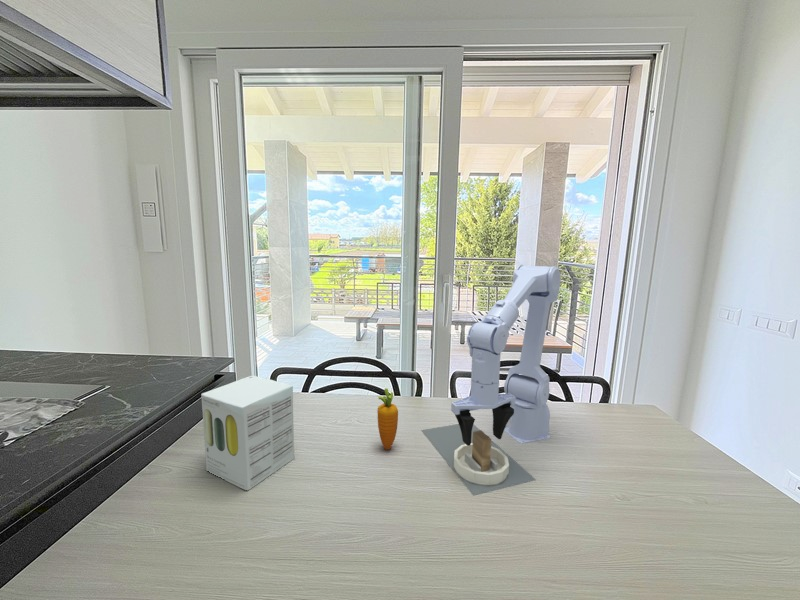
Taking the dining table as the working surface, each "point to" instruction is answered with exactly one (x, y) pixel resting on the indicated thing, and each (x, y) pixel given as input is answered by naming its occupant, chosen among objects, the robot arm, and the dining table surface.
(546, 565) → the dining table surface
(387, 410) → the carrot
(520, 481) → the slate board
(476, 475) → the plate
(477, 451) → the tan cardboard box
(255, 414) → the supplement box
